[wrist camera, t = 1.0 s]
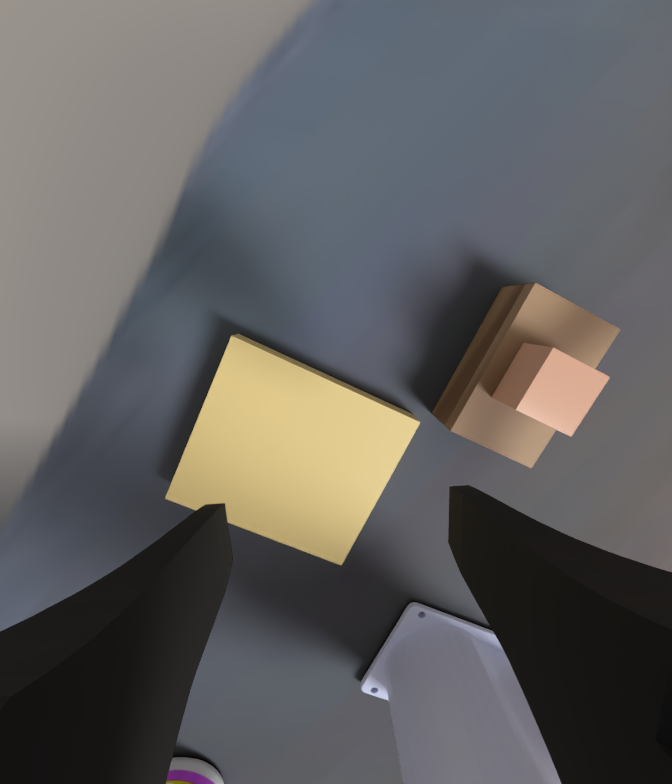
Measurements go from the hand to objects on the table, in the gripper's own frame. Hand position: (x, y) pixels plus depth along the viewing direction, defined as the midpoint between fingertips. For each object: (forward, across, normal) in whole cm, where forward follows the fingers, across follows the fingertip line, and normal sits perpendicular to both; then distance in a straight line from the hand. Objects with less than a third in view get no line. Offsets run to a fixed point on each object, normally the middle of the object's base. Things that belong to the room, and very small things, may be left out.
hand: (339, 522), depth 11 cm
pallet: (+10, -10, -3) cm, 14 cm away
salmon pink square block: (+7, -10, -2) cm, 12 cm away
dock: (+10, +2, +1) cm, 10 cm away
